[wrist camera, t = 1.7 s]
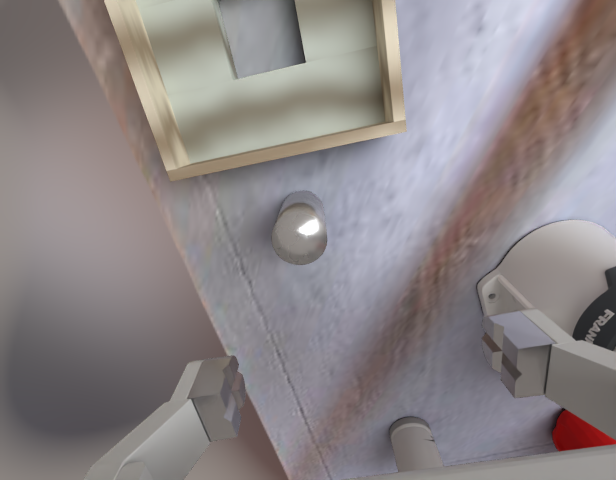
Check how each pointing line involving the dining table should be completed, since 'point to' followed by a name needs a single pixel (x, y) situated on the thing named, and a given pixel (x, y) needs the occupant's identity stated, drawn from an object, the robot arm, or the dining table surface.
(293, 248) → the peg
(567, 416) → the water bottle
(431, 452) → the travel mug
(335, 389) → the dining table surface
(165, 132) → the socket box
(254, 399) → the dining table surface
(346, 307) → the dining table surface
